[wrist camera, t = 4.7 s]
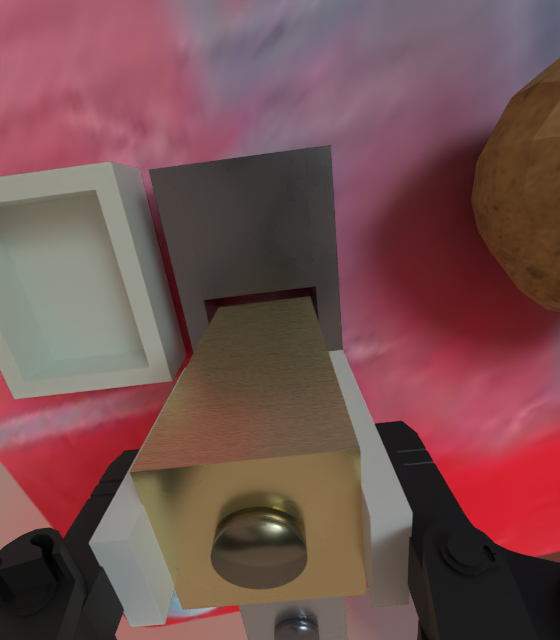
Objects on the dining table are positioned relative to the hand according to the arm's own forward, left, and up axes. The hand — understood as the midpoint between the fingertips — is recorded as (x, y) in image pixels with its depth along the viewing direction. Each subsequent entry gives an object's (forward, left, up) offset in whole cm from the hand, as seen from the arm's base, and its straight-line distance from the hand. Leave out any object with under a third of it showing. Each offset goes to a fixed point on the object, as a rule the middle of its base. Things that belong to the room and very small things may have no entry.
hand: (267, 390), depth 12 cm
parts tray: (-4, -10, -8) cm, 13 cm away
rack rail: (+3, 0, -8) cm, 8 cm away
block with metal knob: (0, 0, -4) cm, 4 cm away
